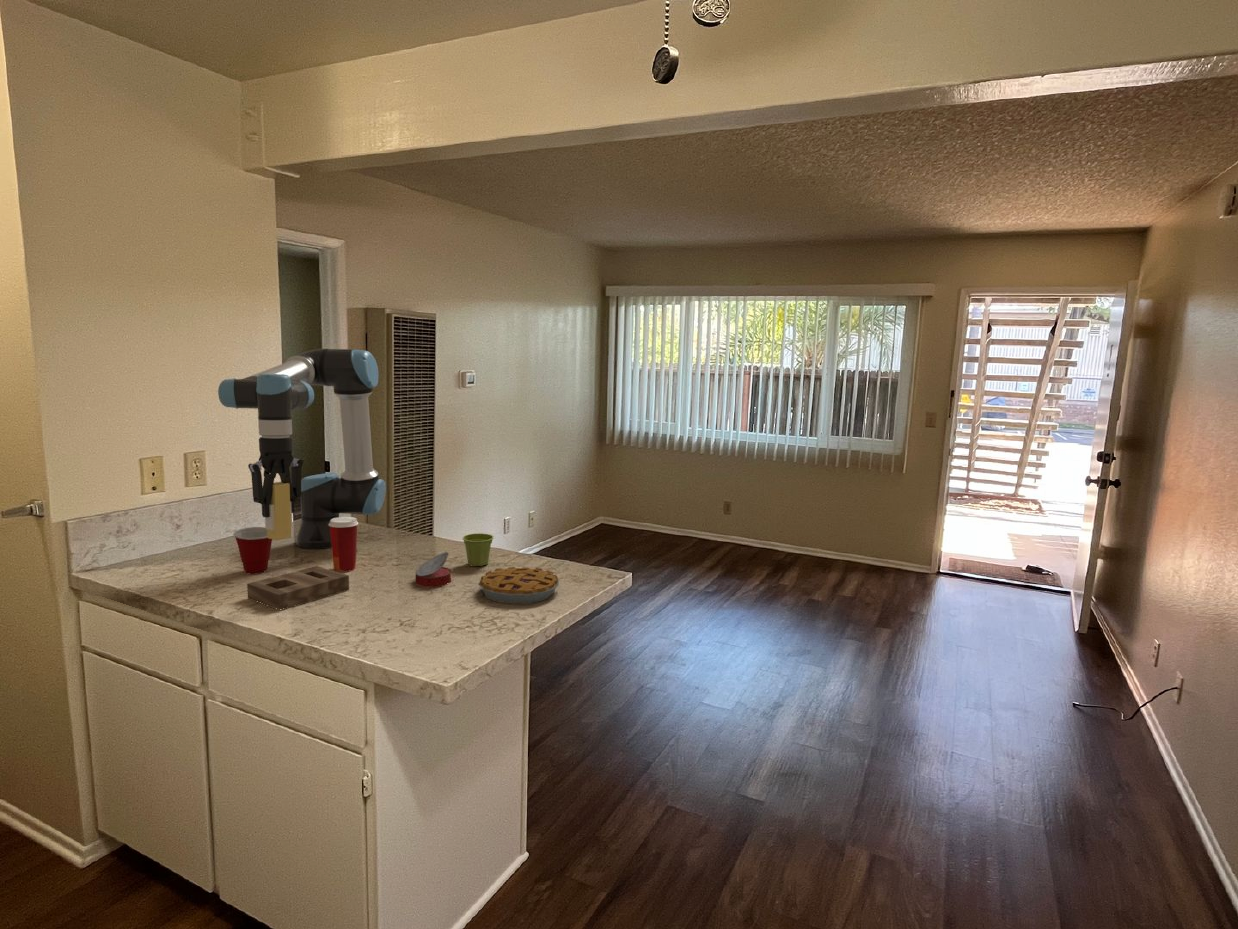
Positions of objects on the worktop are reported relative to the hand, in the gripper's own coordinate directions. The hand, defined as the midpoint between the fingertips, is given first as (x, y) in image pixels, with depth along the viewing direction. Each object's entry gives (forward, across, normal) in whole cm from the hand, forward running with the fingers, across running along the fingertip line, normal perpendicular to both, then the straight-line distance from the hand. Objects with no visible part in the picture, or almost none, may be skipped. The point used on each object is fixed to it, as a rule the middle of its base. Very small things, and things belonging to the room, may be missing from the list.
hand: (278, 527), depth 180 cm
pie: (+19, -42, +44) cm, 64 cm away
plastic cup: (+19, -9, -27) cm, 34 cm away
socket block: (+19, -5, 0) cm, 20 cm away
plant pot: (+19, -54, +17) cm, 60 cm away
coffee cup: (+19, -26, -10) cm, 34 cm away
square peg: (+3, 0, 0) cm, 3 cm away
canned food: (+19, -34, +19) cm, 44 cm away
